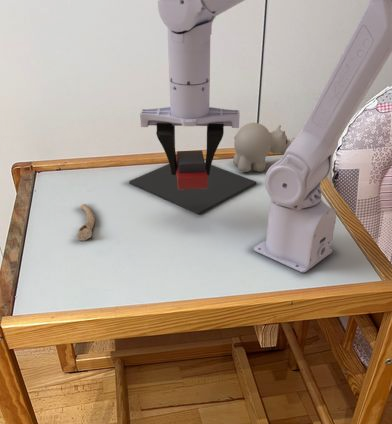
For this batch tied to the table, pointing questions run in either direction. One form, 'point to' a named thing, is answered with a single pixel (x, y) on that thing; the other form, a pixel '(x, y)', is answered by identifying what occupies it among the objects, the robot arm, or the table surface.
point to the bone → (86, 229)
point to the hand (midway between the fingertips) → (190, 172)
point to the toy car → (191, 170)
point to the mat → (193, 198)
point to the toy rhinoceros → (258, 146)
